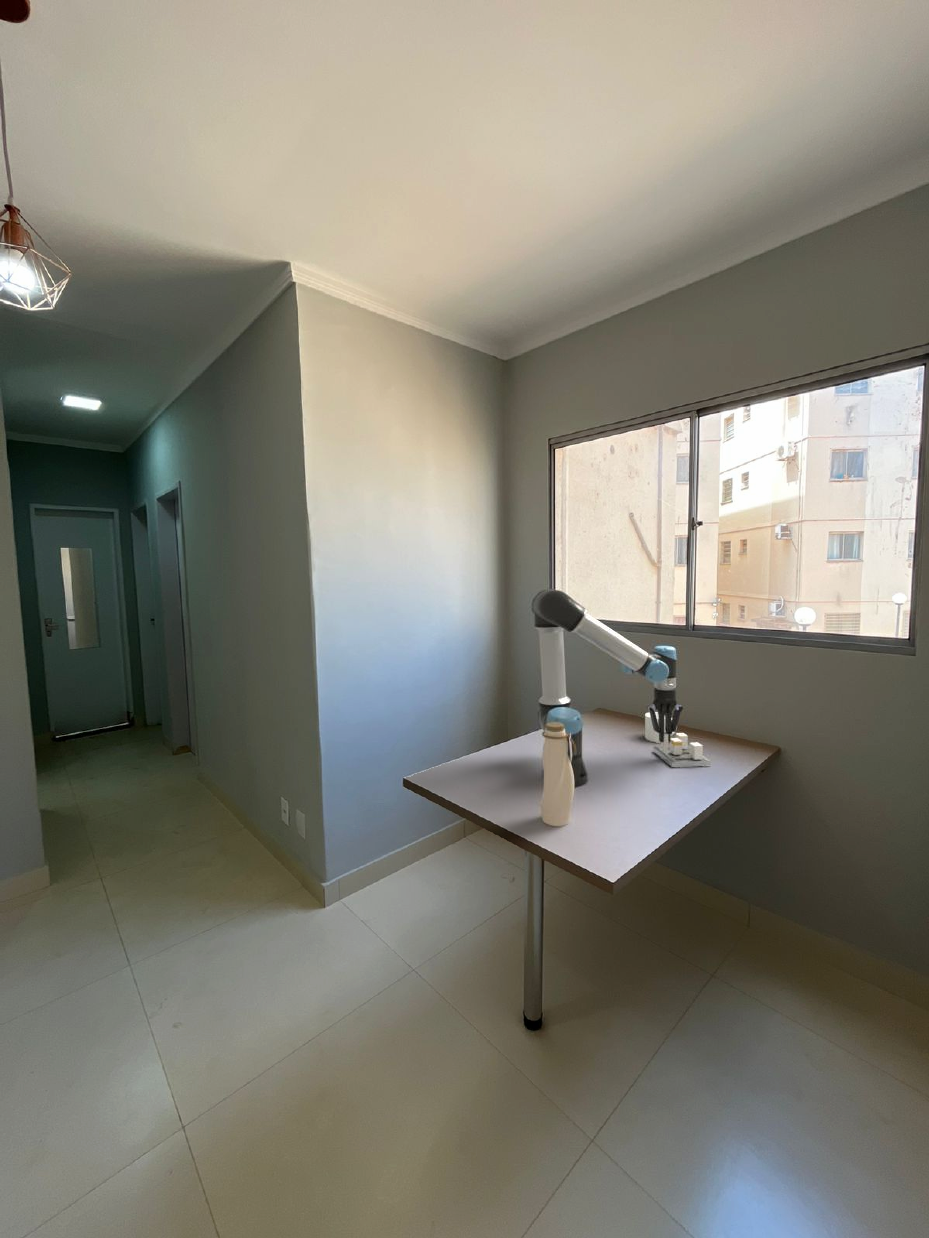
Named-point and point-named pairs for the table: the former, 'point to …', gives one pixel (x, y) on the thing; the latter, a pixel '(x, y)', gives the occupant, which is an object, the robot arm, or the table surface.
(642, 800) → the table surface
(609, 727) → the table surface
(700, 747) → the breaker low
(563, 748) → the water bottle
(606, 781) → the table surface
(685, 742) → the block
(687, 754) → the panel
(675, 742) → the block
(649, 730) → the mug
